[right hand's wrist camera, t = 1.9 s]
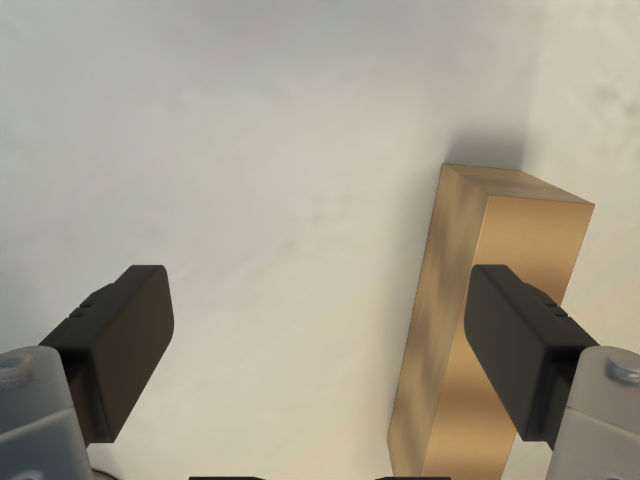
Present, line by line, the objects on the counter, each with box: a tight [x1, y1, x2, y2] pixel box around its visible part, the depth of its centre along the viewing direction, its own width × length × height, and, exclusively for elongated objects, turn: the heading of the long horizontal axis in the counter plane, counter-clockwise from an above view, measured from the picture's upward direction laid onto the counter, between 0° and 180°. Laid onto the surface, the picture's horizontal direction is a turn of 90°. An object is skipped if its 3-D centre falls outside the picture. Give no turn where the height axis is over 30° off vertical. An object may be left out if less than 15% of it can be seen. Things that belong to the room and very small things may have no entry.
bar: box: [387, 164, 595, 480], centre depth 30 cm, size 26×6×9 cm, turn 175°
